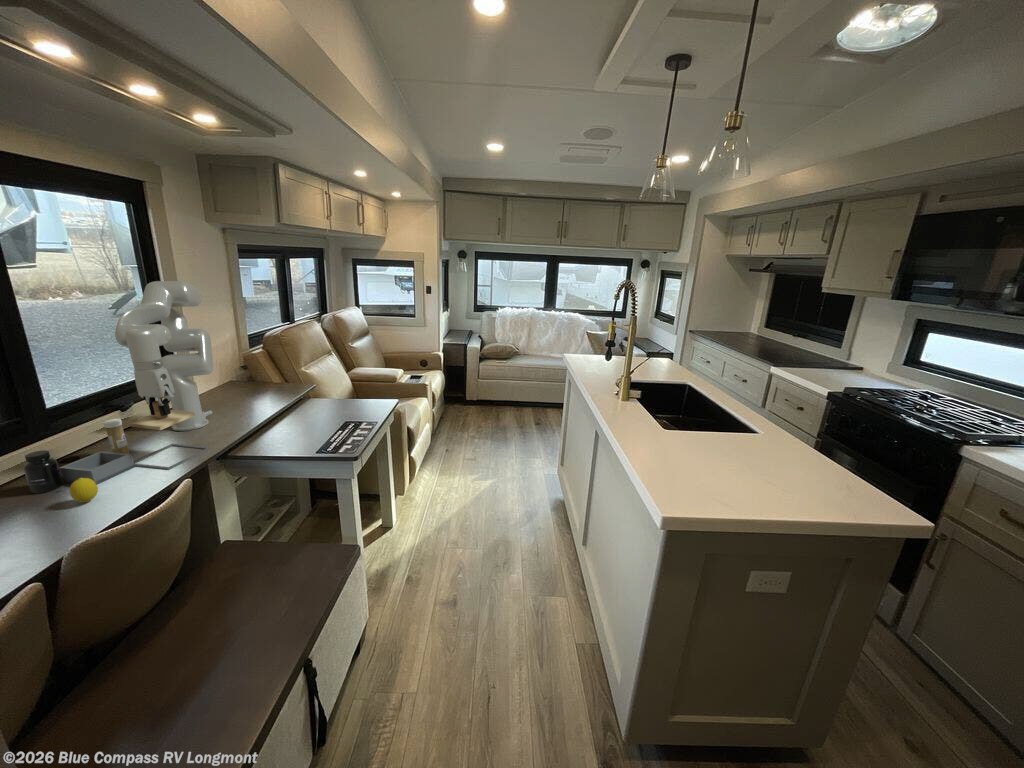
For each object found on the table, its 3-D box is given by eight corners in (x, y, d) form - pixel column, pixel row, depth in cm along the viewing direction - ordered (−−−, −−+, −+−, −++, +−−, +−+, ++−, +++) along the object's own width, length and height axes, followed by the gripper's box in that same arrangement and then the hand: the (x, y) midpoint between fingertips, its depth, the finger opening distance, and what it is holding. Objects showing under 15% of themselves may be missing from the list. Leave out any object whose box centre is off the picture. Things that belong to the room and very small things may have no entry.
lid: (165, 412, 150) (160, 394, 148) (195, 415, 148) (190, 397, 146) (128, 426, 138) (122, 406, 135) (160, 430, 136) (155, 410, 133)
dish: (105, 464, 140) (101, 451, 138) (134, 467, 138) (131, 454, 137) (63, 481, 128) (59, 467, 127) (95, 485, 127) (91, 471, 125)
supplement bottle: (34, 496, 120) (21, 460, 117) (29, 489, 124) (16, 454, 120) (67, 486, 126) (55, 452, 122) (61, 480, 129) (49, 446, 126)
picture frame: (172, 444, 155) (172, 443, 155) (211, 448, 153) (211, 447, 153) (126, 465, 139) (126, 464, 139) (168, 469, 137) (168, 468, 137)
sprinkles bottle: (128, 455, 146) (119, 421, 142) (111, 458, 144) (101, 424, 140) (131, 450, 150) (122, 417, 146) (114, 453, 147) (105, 419, 143)
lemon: (86, 497, 121) (78, 473, 118) (106, 496, 121) (98, 473, 119) (68, 507, 115) (60, 483, 113) (89, 507, 116) (81, 482, 113)
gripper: (179, 363, 139) (191, 412, 144) (138, 360, 141) (151, 408, 147) (158, 369, 132) (171, 420, 137) (115, 365, 134) (130, 416, 139)
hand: (161, 413), depth 142 cm, fingers closed on lid, 3 cm apart
